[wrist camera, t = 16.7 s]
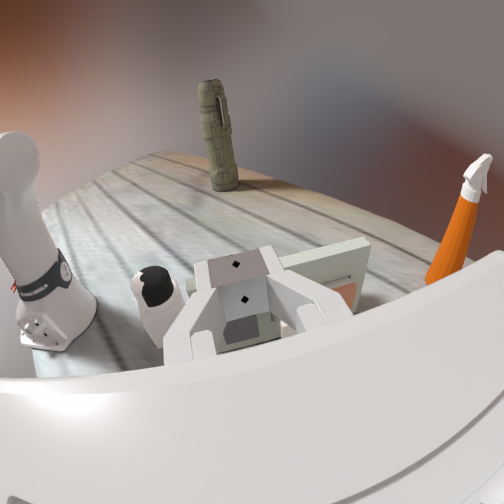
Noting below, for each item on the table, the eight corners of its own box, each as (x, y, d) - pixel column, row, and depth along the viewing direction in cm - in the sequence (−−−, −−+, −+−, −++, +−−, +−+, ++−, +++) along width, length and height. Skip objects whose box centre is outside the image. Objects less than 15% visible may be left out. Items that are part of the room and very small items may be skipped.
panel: (212, 354, 39) (186, 291, 31) (205, 315, 45) (183, 251, 37) (355, 312, 42) (371, 244, 34) (335, 281, 48) (342, 215, 40)
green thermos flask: (228, 195, 81) (210, 80, 60) (204, 188, 88) (185, 84, 66) (248, 184, 86) (234, 76, 64) (223, 178, 93) (208, 80, 71)
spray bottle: (468, 281, 42) (509, 162, 26) (441, 301, 40) (488, 166, 24) (447, 261, 48) (478, 146, 32) (418, 278, 46) (451, 147, 30)
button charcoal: (226, 344, 35) (219, 324, 32) (216, 299, 42) (210, 277, 39) (259, 336, 36) (256, 315, 33) (245, 292, 42) (241, 270, 40)
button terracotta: (324, 317, 37) (327, 295, 34) (301, 277, 44) (302, 255, 41) (352, 307, 37) (357, 285, 35) (327, 270, 44) (329, 248, 41)
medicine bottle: (186, 306, 48) (165, 254, 40) (198, 335, 42) (176, 282, 35) (150, 320, 46) (123, 270, 38) (158, 350, 40) (127, 301, 33)
